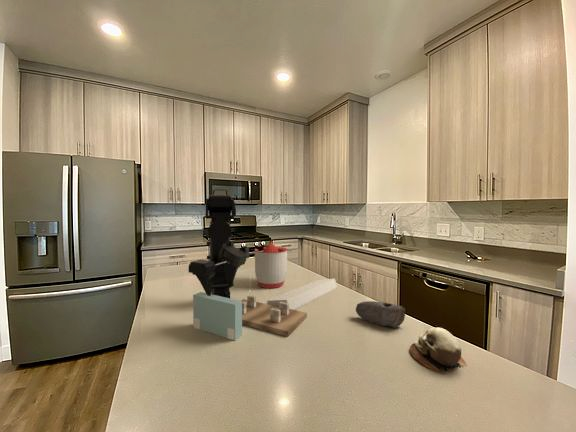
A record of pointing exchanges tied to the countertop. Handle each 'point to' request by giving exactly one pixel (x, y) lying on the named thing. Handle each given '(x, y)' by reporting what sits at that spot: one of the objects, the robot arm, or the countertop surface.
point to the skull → (438, 350)
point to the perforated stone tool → (381, 313)
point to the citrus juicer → (271, 266)
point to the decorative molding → (305, 293)
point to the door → (217, 315)
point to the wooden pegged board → (271, 316)
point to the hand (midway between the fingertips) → (220, 290)
